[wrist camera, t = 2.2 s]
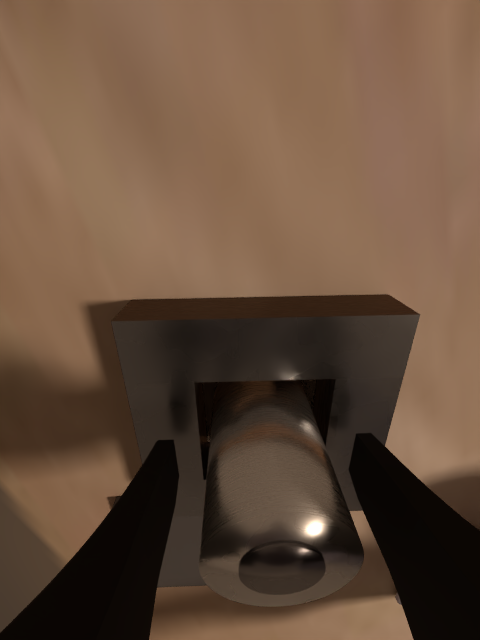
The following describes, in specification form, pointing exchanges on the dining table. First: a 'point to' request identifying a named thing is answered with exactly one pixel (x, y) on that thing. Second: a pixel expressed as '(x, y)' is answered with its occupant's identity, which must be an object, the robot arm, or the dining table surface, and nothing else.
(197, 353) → the block
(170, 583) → the rubber mat
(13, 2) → the dining table surface
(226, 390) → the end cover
